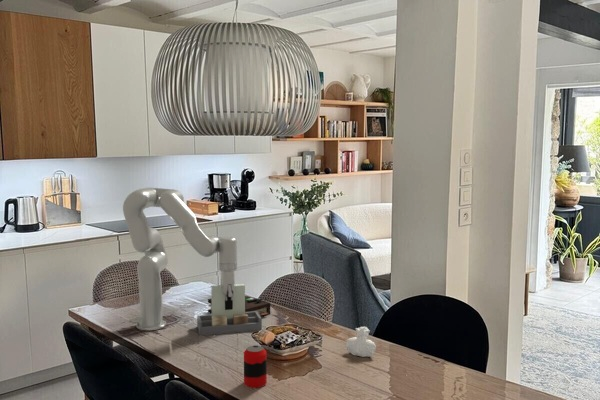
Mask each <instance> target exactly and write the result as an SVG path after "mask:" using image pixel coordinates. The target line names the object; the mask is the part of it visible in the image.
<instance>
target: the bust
mask: <svg viewBox="0 0 600 400" xmlns="http://www.w3.org/2000/svg"><path fill="white" fill-rule="evenodd" d="M370 331H371V330H370V329H369V328H368V327H367V326H360V327H355V332H356V334H357V337H356V336H354V337H350V338H348V339H346V342H345V348H346V351H347V353H349V354H351V355H353V356H357V357H362V358H365V357H366V358H369V357H373V355H374V352H375V351H376V349H377V346H376V344H375V342H374V341H373V340H371V339H369V338H367V336H369V333H370Z"/></svg>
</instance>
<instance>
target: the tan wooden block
mask: <svg viewBox="0 0 600 400" xmlns="http://www.w3.org/2000/svg"><path fill="white" fill-rule="evenodd" d="M245 323H248V315H247V314H239V315H233V324H245Z"/></svg>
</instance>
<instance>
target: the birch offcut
mask: <svg viewBox="0 0 600 400" xmlns="http://www.w3.org/2000/svg"><path fill="white" fill-rule="evenodd" d="M220 325H227V317H226V316H212V326H220Z"/></svg>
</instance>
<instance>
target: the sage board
mask: <svg viewBox="0 0 600 400" xmlns="http://www.w3.org/2000/svg"><path fill="white" fill-rule="evenodd" d="M210 288H211V292H210V294H211V298H210V299H211V300H212V313H211V315H212V316H226V317H227V319H232V318H233V315H239V314H245V295H246V285H245V284H244V283H238V284H237V283H236V284H235V289H234V294H233V293H232V300H233V309H231V310H225V300H226V294H223V293H222V286H221V284H220V285H211V287H210ZM227 293H228V292H227ZM227 296H228V295H227Z"/></svg>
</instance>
